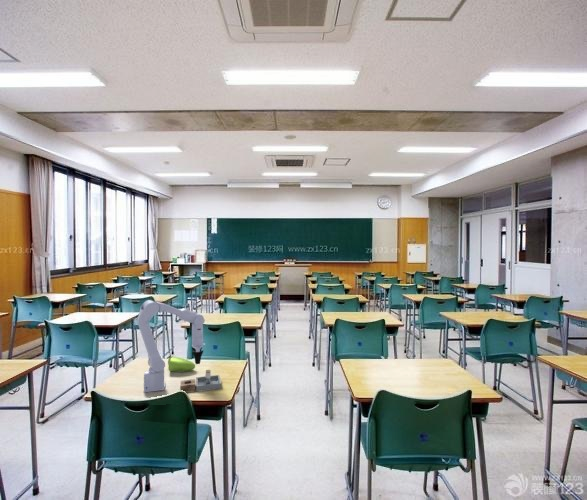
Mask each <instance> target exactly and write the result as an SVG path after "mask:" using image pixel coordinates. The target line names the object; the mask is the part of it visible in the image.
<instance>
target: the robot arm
mask: <svg viewBox="0 0 587 500" xmlns="http://www.w3.org/2000/svg"><path fill="white" fill-rule="evenodd" d="M139 308H140V309H139V313H138V316H137V325H138V328H139V331H140V334H141V338H142V341H143V343H144V346H145V348H146V349H145V350H146V352H147V353H146V354H147V358H148V360H147V365H148V366H149V368H148V370H147V371H144V373H143V393H149V392H151V393H152V392H159V391H160V392H161V391H165V389H166V383H165V367H166V363H165V361H164V360H163V359H162V357H161V355H160V352H159V351H158V350H159V349H158V347H157V343H156V341H155V338H154V335H153V331H152V328H151V325H150V321H151V319H153V317H154V316H156V315H157V314H158V313H164V312H166V313H169V314H172V315H174V316H177V317H178V319H179V320H182V321H184V322H187V323H190V324H191V348H192V351H191V352H192V355H193V358H194V364H195V365H200V364H201V362H202V361H201V360H202V355H203V354H204V350H202V349H203V347H204V346H206V343H204V324H205V321H206V320H205V317H204V315H202V314H200V313H198V312H196V311H191V310H190V309H189V308H188V307H186V308H182V309H179V308H176V307H174V306H171V305H169V304H166V303H163V302H160V301H157V300H156V301H154V300H152V299H147V300H145V301H144V302H143V303H142V304H141V306H140V307H139Z"/></svg>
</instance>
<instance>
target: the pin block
mask: <svg viewBox="0 0 587 500" xmlns="http://www.w3.org/2000/svg"><path fill="white" fill-rule="evenodd" d="M179 388H180V390H183V391H186V392H192V391H196V378H193V379H184V380H183V379H182V380H180V387H179ZM180 390H179V391H180Z"/></svg>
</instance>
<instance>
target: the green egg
mask: <svg viewBox="0 0 587 500" xmlns="http://www.w3.org/2000/svg"><path fill="white" fill-rule="evenodd" d="M167 365H168V371H169V372H181V373H182V372H191V371H193V370H194V369H195V368H196V363H195V362H192V361H190V360H188V359H185V358H181V357H176V356H174V355H173V356H172V355H171V356H170V357H168V360H167Z"/></svg>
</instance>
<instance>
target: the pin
mask: <svg viewBox="0 0 587 500" xmlns="http://www.w3.org/2000/svg"><path fill="white" fill-rule="evenodd" d="M205 376H206V384H211V376H212V375H211V369H206V370H205Z"/></svg>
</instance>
